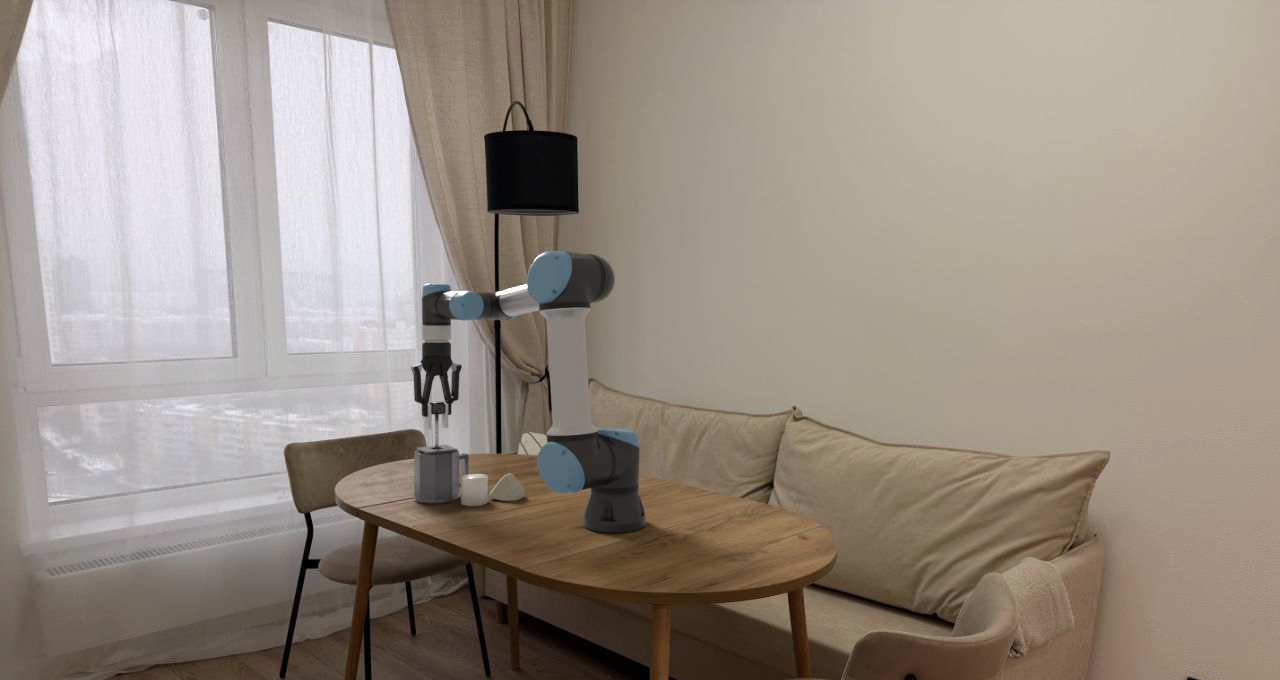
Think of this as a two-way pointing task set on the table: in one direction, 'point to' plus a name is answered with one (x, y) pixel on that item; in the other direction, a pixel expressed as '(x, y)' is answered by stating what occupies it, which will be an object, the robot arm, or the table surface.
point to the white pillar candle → (474, 489)
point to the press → (438, 474)
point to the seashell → (507, 489)
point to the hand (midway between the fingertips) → (436, 427)
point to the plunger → (437, 419)
